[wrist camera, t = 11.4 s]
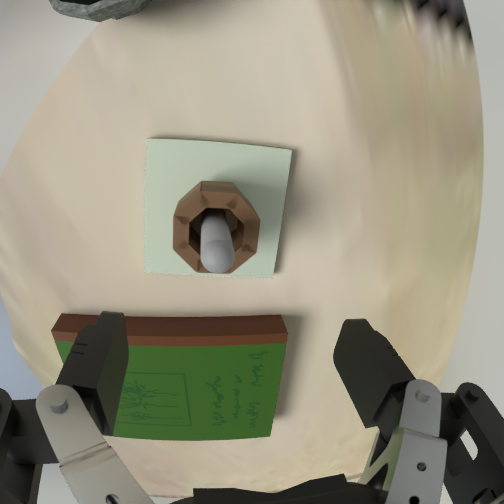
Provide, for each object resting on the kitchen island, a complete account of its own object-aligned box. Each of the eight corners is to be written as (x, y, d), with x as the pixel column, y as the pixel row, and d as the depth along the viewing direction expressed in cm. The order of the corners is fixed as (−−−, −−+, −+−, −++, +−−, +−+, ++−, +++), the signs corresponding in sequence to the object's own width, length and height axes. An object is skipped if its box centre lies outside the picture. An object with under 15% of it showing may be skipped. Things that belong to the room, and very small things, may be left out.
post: (149, 138, 24) (111, 148, 14) (289, 149, 26) (340, 167, 16) (146, 267, 28) (122, 341, 18) (270, 273, 31) (301, 346, 21)
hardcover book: (279, 311, 33) (287, 333, 30) (265, 416, 40) (270, 436, 37) (57, 310, 29) (45, 330, 26) (96, 414, 37) (92, 433, 33)
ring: (179, 179, 24) (174, 190, 20) (254, 184, 25) (263, 195, 21) (176, 250, 26) (172, 271, 22) (247, 253, 27) (254, 274, 23)
